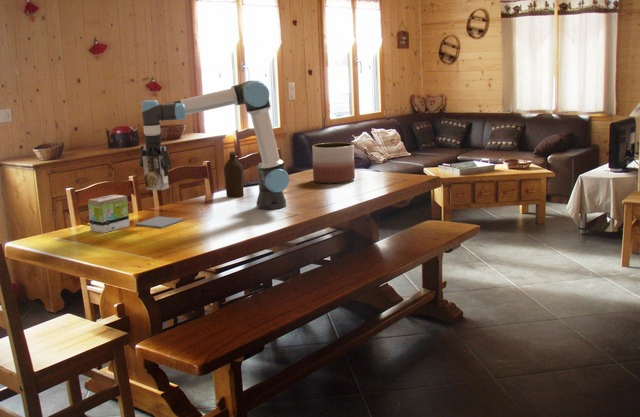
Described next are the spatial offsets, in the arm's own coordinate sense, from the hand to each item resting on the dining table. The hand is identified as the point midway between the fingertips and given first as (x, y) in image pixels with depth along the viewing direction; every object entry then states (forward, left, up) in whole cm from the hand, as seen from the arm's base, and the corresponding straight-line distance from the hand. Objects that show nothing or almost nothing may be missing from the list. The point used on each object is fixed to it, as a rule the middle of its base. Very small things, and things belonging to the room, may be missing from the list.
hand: (156, 182), depth 315 cm
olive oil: (+3, -65, -20) cm, 68 cm away
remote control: (+14, -97, -20) cm, 100 cm away
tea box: (+15, +17, -20) cm, 30 cm away
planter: (-28, -125, -20) cm, 130 cm away
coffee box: (0, 0, -3) cm, 3 cm away
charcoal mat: (0, 0, -20) cm, 20 cm away
